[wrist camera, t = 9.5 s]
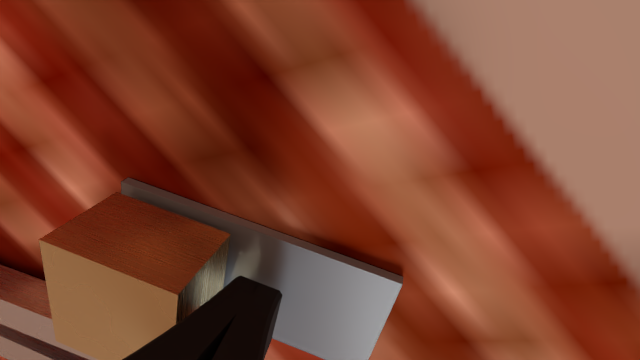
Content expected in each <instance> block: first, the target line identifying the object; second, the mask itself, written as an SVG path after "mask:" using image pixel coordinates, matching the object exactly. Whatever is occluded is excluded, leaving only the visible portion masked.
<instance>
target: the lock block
mask: <svg viewBox="0 0 640 360" xmlns="http://www.w3.org/2000/svg"><path fill="white" fill-rule="evenodd" d="M230 235H231V234H229V233H226V232H224V231H221V230H218V229H216V228H213V227H210V226H208V225H205V224H202V223H199V222H197V221H194V220H191V219H189V218H186V217H183V216H180V215H178V214H175V213H172V212H170V211H167V210H164V209H161V208H159V207H156V206H153V205H151V204H148V203H145V202H143V201H140V200H137V199H134V198H132V197H129V196H126V195H124V194H121V193H118V192H116V193H115V194H113V195H111V196H110V197H108V198H106V199H105V200H103V201H101V202H100V203H98V204H96V205H95V206H93V207H91V208H90V209H88V210H87V211H85V212H83V213H82V214H80V215H78V216H77V217H75V218H73V219H72V220H70V221H68V222H67V223H65V224H64V225H62V226H60V227H59V228H57V229H55V230H54V231H52V232H50V233H49V234H47V235H45V236H44V237H42V238H40V239H39V244H40V250H41V256H42V262H43V268H44V274H45V280H46V286H47V292H48V297H49V303H50V309H51V315H52V321H53V327H54V333H55V339H56V341H57V342H59V343H62V344H64V345H66V346H68V347H71V348H73V349H75V350H78V351H80V352H82V353H84V354H87V355H89V356H91V357H94V358H96V359H98V360H122V359H124V358H125V357H127V356H129V355H130V354H132V353H134V352H135V351H137V350H138V349H140V348H141V347H143V346H144V345H146V344H147V343H149V342H150V341H152V340H153V339H155V338H157V337H158V336H160V335H161V334H163V333H164V332H166V331H167V330H169V329H170V328H171V327H173V326H174V325H176V324H177V323H178V322H180V321H181V320H183V319H184V318H185V317H187V316H188V315H189V314H191V313H192V312H194V311H195V310H196V309H198V308H199V307H200V306H202V305H203V304H204V303H205V302H207V301H208V300H209V299H211V298H212V297H213V296H214V295H216V294H217V293H218V292H219V291H221V290H222V289H223V284H224V277H225V270H226V263H227V256H228V249H229V242H230Z"/></svg>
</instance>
